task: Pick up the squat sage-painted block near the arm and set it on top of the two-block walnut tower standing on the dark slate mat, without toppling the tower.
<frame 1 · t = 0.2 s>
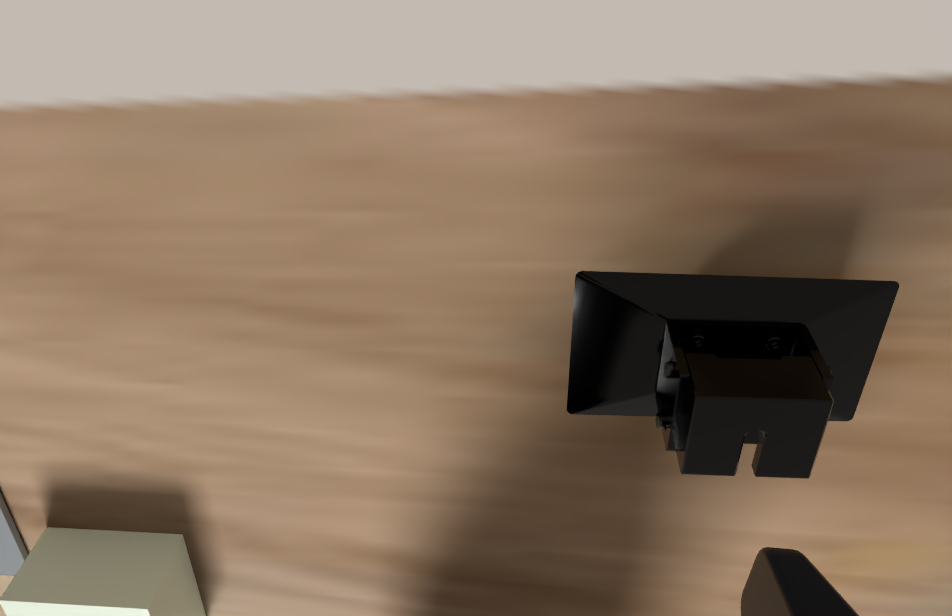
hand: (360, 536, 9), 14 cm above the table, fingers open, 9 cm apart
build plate: (719, 338, 25), on the table
sage block: (132, 571, 33), on the table
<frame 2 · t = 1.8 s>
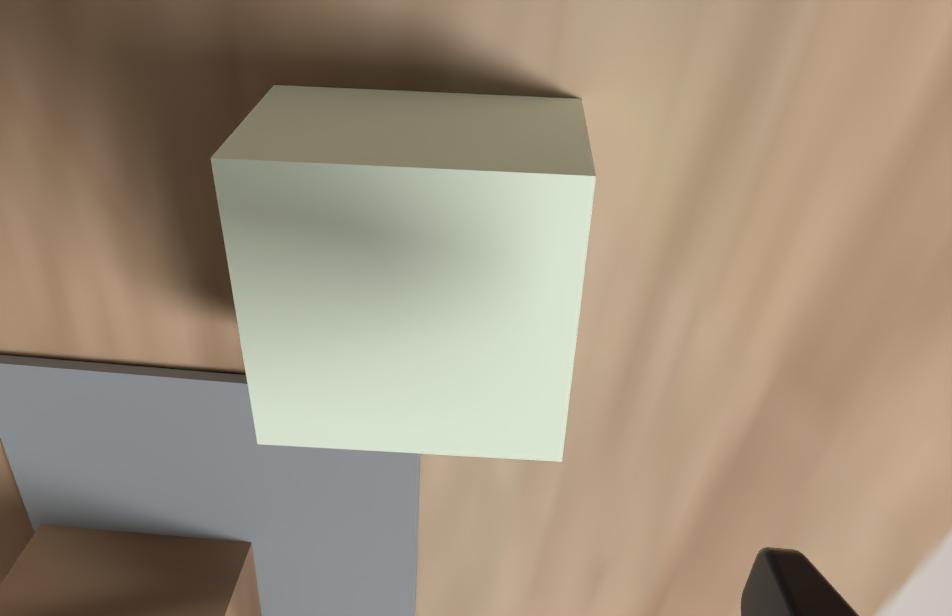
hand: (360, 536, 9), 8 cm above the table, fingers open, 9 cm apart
walnut block lower: (162, 601, 22), resting on slate mat, touching walnut block upper
slate mat: (229, 550, 21), on the table
sage block: (428, 225, 16), on the table
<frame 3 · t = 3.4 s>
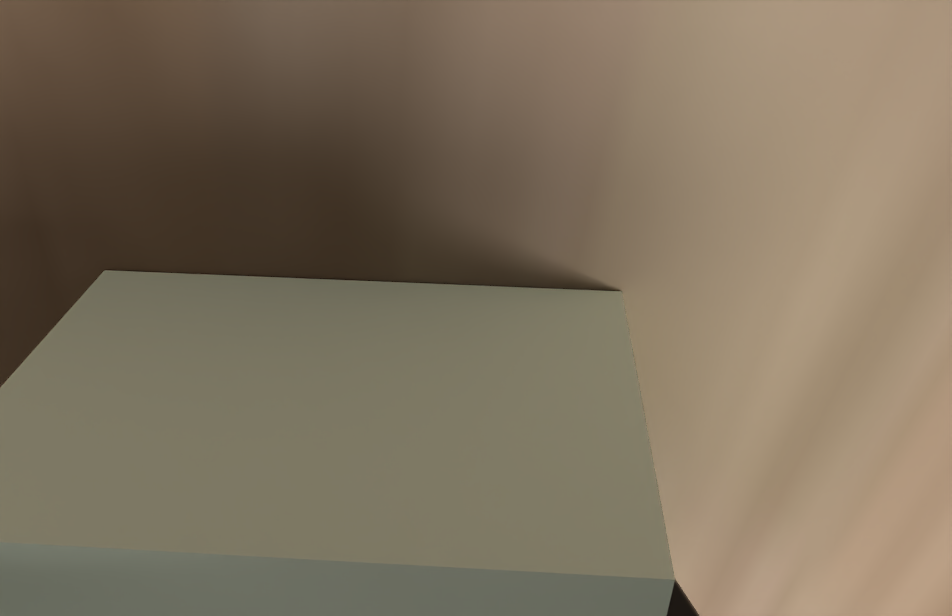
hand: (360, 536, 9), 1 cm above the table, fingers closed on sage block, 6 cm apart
sage block: (374, 469, 10), on the table, touching gripper
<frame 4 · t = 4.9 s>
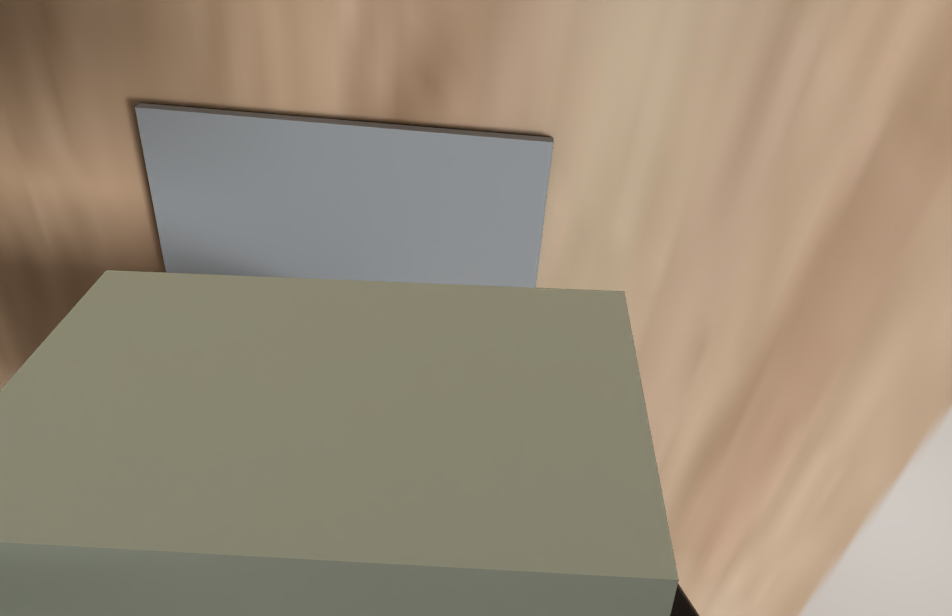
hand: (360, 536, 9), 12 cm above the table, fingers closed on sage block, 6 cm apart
slate mat: (352, 323, 22), on the table
sage block: (376, 469, 10), point 11 cm above the table, touching gripper
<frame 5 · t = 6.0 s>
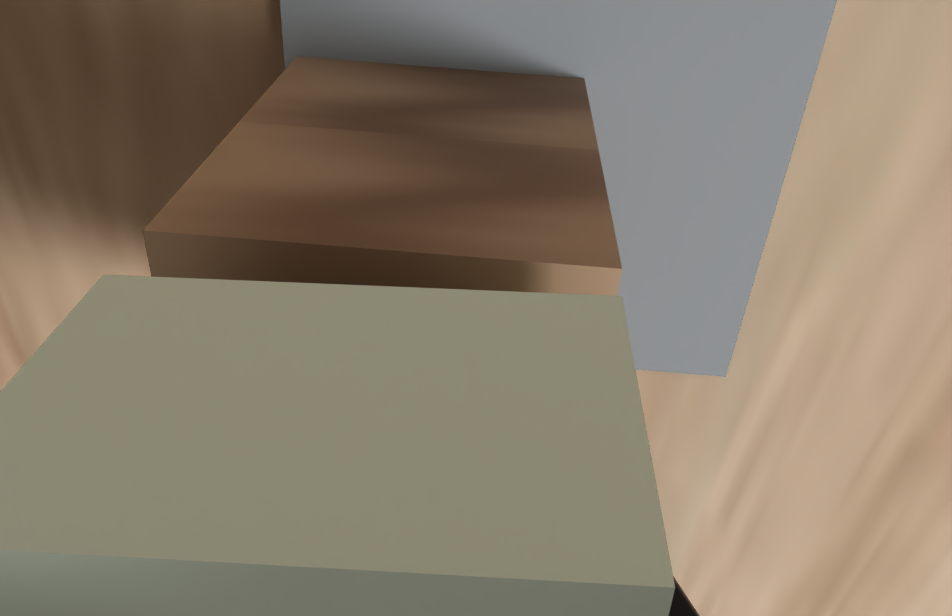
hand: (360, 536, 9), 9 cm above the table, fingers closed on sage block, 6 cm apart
walnut block upper: (414, 288, 14), point 4 cm above the table, touching walnut block lower
walnut block lower: (435, 198, 17), resting on slate mat, touching walnut block upper
slate mat: (540, 108, 16), on the table
sage block: (374, 473, 10), point 8 cm above the table, touching gripper
when the fingers open (9 cm above the table, at t = 6.7 s): sage block stays where it is, resting on walnut block upper.
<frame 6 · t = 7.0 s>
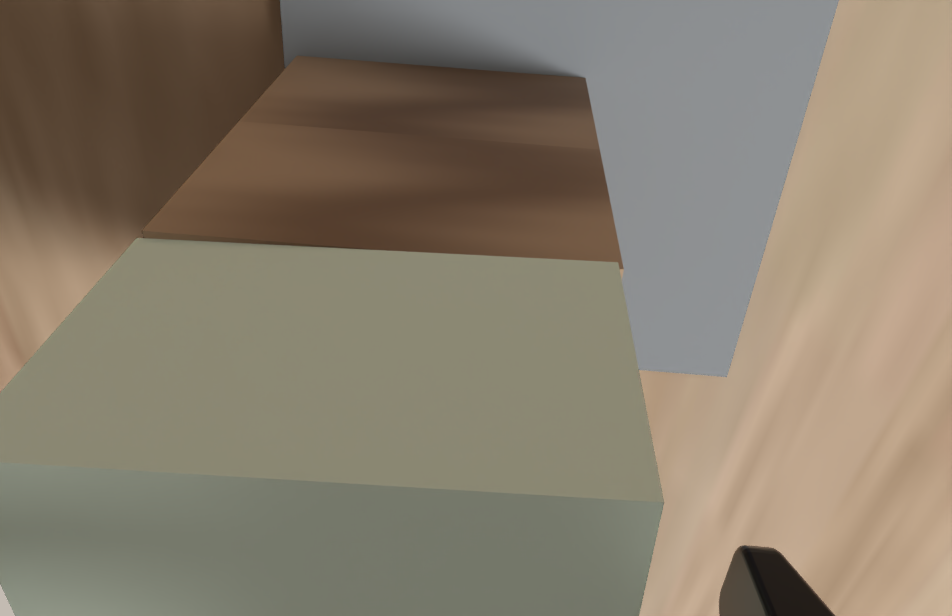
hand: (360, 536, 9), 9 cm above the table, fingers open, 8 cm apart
walnut block upper: (415, 289, 13), point 4 cm above the table, touching sage block, walnut block lower
walnut block lower: (436, 198, 17), resting on slate mat, touching walnut block upper
slate mat: (541, 108, 16), on the table
sage block: (384, 431, 10), point 7 cm above the table, touching walnut block upper
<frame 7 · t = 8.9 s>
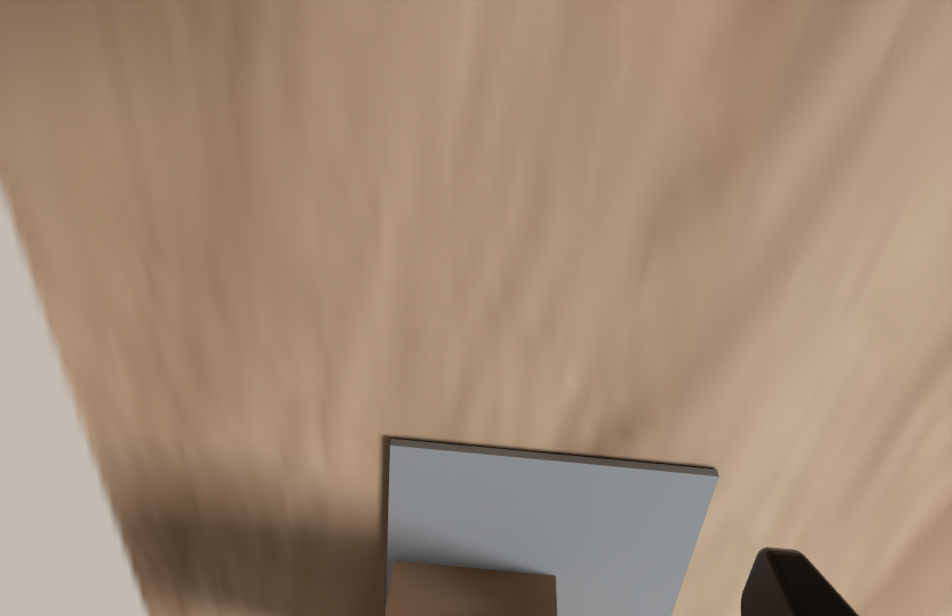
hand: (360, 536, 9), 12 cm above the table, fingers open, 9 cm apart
slate mat: (531, 580, 27), on the table
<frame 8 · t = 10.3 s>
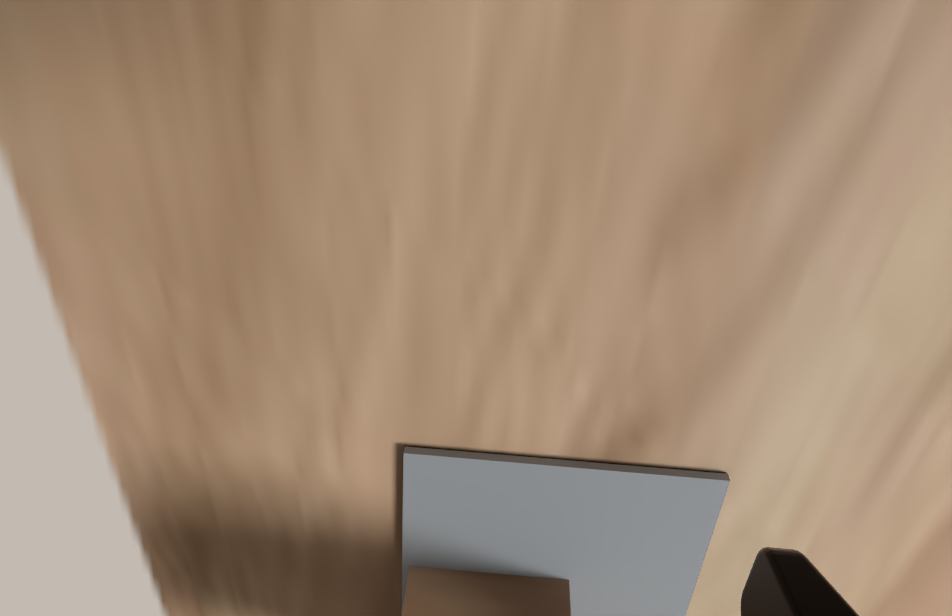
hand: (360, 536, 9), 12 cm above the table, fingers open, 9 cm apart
slate mat: (544, 584, 28), on the table
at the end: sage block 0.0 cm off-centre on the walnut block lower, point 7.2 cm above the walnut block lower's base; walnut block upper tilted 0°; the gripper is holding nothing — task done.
